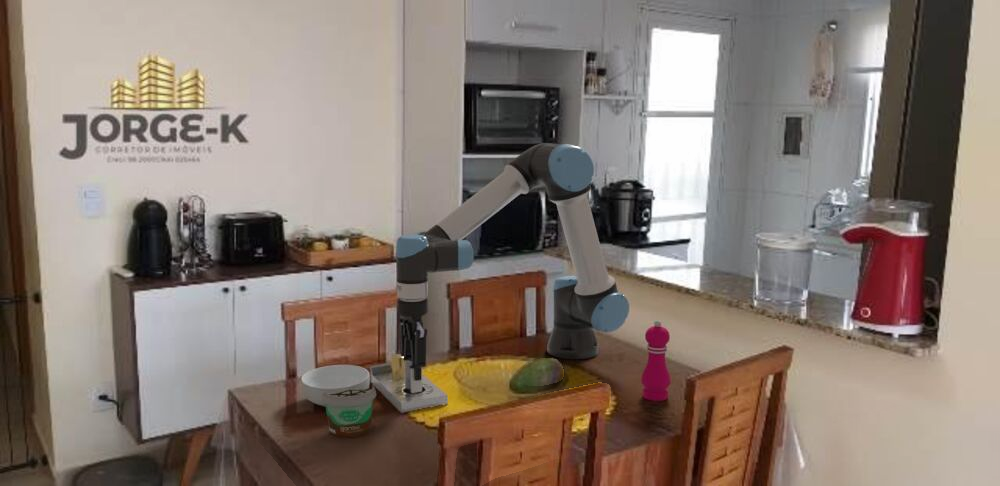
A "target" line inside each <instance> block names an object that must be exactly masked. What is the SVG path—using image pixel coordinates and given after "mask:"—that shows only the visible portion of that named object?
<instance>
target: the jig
mask: <svg viewBox="0 0 1000 486" xmlns="http://www.w3.org/2000/svg"><path fill="white" fill-rule="evenodd" d="M390 359H391V362H388V363H382V364H381V363H380V364H375V365H370V368H369V369H370V372H369V375H370V384H371V385H372V386H373V385H374V387H375V389H377V390H378V391H379V392H380V394H382V395H383V396H384V398H386V399H387V400H388V401H389V402H390V403H391V404H392V406H394V407H395V408H396V409H397V410H398V412H400V413H401V414H402V413H409V411H410V412H413V411H412V410H415V411H418V410H417V409H420V408H426V407H431V406H436V405H442V406H444V405H443V404H448V402H449V401H448V394H447V393H446V392H445V391H444V390H443V389H441V388H440V387H439V386H438V385H436V384H435V383H433V382H432V381H431V380H430V379H429V378H428V377H426V376H425V375H424V374H422V393H417V394H409V393H406V387H405V361H404V359H403V357H402V356H401V353H400V354H399V353H396V354H392V355H391V358H390ZM431 408H432V407H431ZM426 409H427V408H426ZM420 410H421V409H420Z"/></svg>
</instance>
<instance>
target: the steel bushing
mask: <svg viewBox="0 0 1000 486" xmlns="http://www.w3.org/2000/svg"><path fill="white" fill-rule="evenodd" d="M409 366H412V358H408V359H406V360H405V380H406V393H409V394H417V393H422V392H416V393H411V369H410V367H409Z"/></svg>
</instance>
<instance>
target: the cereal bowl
mask: <svg viewBox="0 0 1000 486" xmlns="http://www.w3.org/2000/svg"><path fill="white" fill-rule="evenodd" d="M300 384H301V389H302V390H301V391H302V394H303V395H304V396H305V398H306V399H307V400H308V401H310V403H313V404H315V405H318V406H321V407H324V408H326V406H325V403H324V402H323V401H322V395H323V394H324V392H325V393H327V394H336V393H340V392H344V391H347V390H364V389H369V388H370V384H371V375H370V372H369V370H367V369H366V368H364V367H362V366H358V365H352V364H333V365H326V366H321V367H317V368H314V369H311V370H309V371H307V372H305V373H304V374H303V375H302V376H301V378H300Z"/></svg>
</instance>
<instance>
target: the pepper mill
mask: <svg viewBox="0 0 1000 486" xmlns="http://www.w3.org/2000/svg"><path fill="white" fill-rule="evenodd" d="M653 324H654V325H653V326H651V327H649V328H647V330H646V331H645V337H644V338H645V341H646V343H647V344H646V347H647V348H646V351H647V352H648V358H647V362H646V365H645V368H644V369H643V372H642V375H641V379H640V380H641V384H642V386H643V387H644V388H643V389H642V397H643V398H644V399H645V400H648V401H652V402H663V401H666V400H667V399H668V398H669V390H668V388H669V386H670V385H671V375H670V371H669V369H668V367H667V363H666V353H667V352H668V345H667V344H668V343H669V342H670V340H671V339H670V338H671V337H670V335H671V334H670V332H669V330H668V329H667V328H665V326H662V321H660V320H657V319H656V320H655V321H654V323H653Z"/></svg>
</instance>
